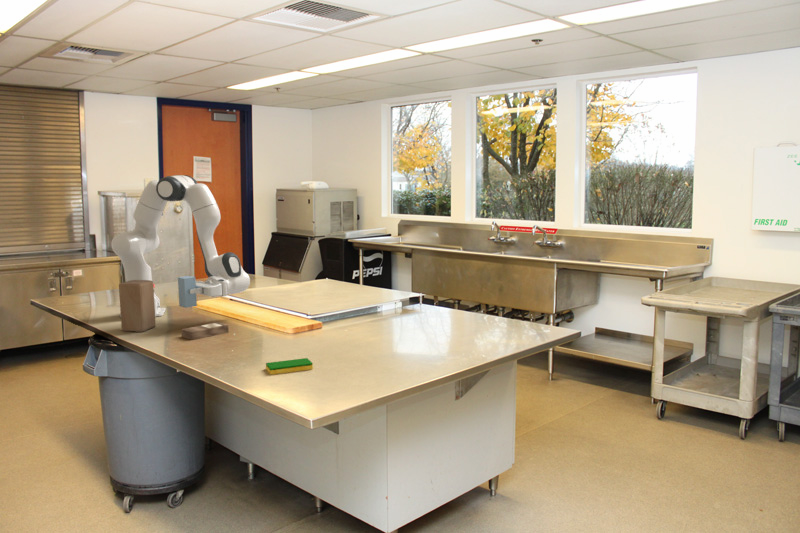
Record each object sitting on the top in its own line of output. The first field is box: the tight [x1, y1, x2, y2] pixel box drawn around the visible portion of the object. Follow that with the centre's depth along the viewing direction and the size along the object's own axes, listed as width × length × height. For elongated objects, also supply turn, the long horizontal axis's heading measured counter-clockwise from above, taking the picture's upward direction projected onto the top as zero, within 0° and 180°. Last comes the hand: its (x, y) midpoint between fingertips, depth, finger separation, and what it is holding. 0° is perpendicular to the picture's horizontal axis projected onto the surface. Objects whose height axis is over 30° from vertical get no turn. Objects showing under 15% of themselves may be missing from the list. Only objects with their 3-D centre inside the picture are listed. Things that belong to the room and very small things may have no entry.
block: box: [118, 280, 157, 333], centre depth 264 cm, size 10×10×20 cm
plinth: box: [180, 321, 229, 341], centre depth 255 cm, size 16×8×3 cm, turn 138°
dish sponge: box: [265, 357, 314, 375], centre depth 207 cm, size 7×14×2 cm, turn 113°
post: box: [177, 275, 198, 309], centre depth 263 cm, size 5×5×12 cm
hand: (185, 290), depth 262 cm, fingers closed on post, 5 cm apart
